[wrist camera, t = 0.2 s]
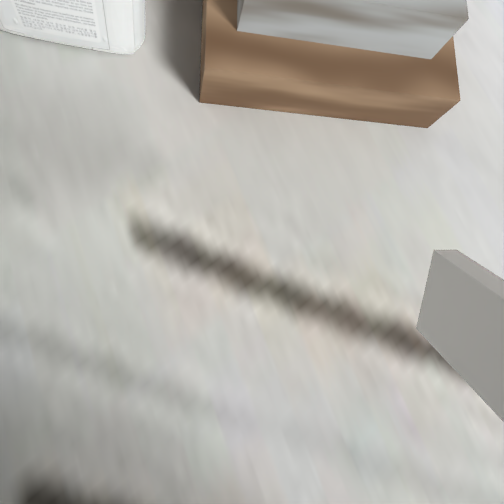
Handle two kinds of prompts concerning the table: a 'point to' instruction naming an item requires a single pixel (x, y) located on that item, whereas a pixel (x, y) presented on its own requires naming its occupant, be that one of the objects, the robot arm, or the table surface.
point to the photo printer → (78, 22)
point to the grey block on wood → (333, 57)
